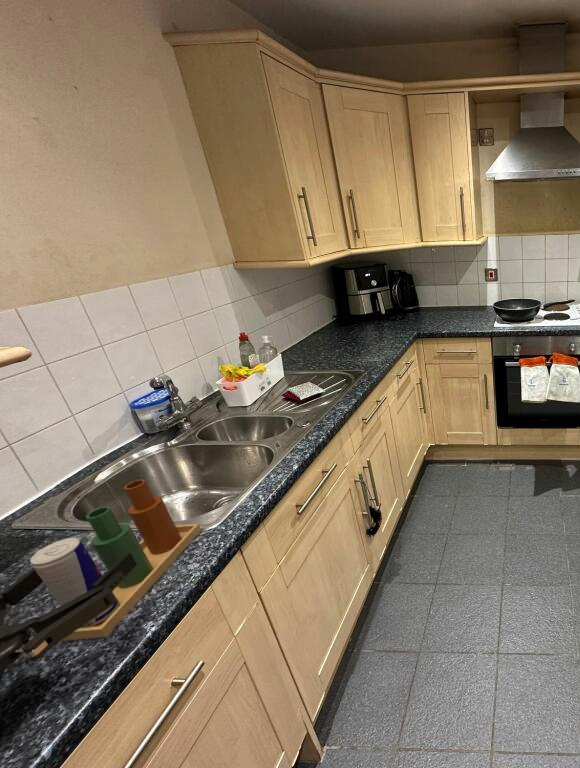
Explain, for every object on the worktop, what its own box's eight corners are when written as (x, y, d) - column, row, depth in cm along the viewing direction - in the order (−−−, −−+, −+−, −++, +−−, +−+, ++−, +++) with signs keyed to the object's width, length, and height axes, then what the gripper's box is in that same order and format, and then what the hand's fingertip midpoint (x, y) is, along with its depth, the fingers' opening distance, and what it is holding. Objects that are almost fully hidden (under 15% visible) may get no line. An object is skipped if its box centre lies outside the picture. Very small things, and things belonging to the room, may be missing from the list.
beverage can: (121, 614, 70) (79, 548, 64) (75, 637, 66) (27, 570, 60) (119, 595, 73) (80, 531, 67) (76, 615, 70) (31, 550, 64)
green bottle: (111, 591, 75) (68, 524, 69) (133, 568, 80) (96, 503, 73) (140, 588, 75) (100, 521, 69) (160, 566, 80) (125, 501, 73)
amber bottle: (144, 557, 82) (109, 493, 76) (163, 538, 87) (131, 477, 81) (170, 555, 82) (137, 491, 76) (188, 536, 87) (158, 475, 81)
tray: (49, 642, 66) (42, 634, 65) (159, 534, 88) (155, 527, 87) (106, 637, 66) (101, 629, 66) (202, 530, 89) (198, 523, 88)
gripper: (-150, 728, 51) (26, 584, 70) (55, 708, 52) (173, 571, 71) (-195, 691, 48) (2, 552, 67) (24, 670, 49) (156, 539, 68)
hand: (90, 562), depth 69 cm, fingers open, 13 cm apart
